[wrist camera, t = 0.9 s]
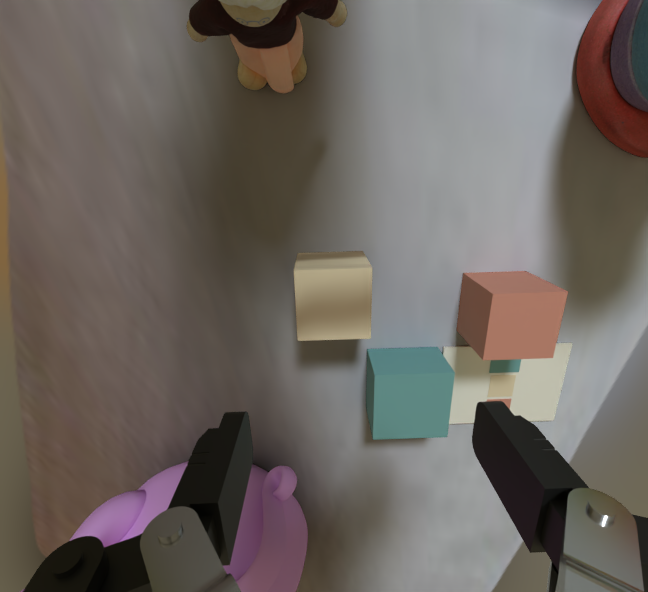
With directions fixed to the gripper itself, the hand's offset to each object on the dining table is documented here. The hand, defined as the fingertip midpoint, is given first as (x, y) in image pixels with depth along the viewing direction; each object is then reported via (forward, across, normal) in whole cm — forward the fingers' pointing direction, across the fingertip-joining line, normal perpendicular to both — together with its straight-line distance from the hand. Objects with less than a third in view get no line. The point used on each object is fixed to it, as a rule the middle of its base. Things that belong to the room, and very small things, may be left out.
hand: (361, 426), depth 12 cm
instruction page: (+16, -14, +10) cm, 24 cm away
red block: (+16, -12, +2) cm, 21 cm away
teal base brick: (+16, -5, +9) cm, 19 cm away
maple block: (+16, 0, 0) cm, 17 cm away
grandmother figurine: (+16, +3, -15) cm, 23 cm away
